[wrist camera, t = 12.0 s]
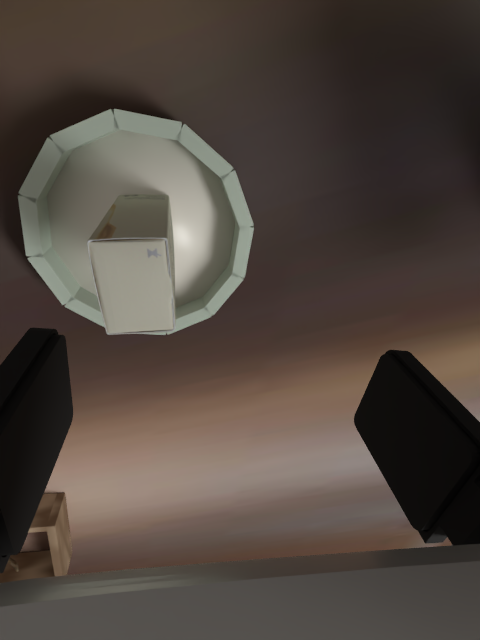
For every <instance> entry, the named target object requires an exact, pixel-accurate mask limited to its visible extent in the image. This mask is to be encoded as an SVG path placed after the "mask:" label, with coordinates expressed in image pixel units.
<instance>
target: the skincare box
mask: <svg viewBox="0 0 480 640" xmlns="http://www.w3.org/2000/svg"><path fill="white" fill-rule="evenodd" d="M87 247H88V254H89V260H90V265H91V271H92V276H93V280H94V284H95V289H96V293H97V298H98V302H99V306H100V310H101V314H102V318H103V322H104V325H105V329H106V333H107V334H109V335H112V334H139V333H159V332H172V331H174V330H175V328H176V316H175V257H174V240H173V227H172V216H171V206H170V198H169V196H168V195H145V194H135V195H119V196H118V197H117V199H116V200H115V202H114V203H113V205H112V206H111V208H110V209H109V210H108V212H107V213H106V215H105V216H104V218H103V219H102V221H101V222H100V224H99V225H98V227H97V228H96V230H95V231H94V232H93V234H92V235H91V237H90V238H89V240H88V241H87Z"/></svg>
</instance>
